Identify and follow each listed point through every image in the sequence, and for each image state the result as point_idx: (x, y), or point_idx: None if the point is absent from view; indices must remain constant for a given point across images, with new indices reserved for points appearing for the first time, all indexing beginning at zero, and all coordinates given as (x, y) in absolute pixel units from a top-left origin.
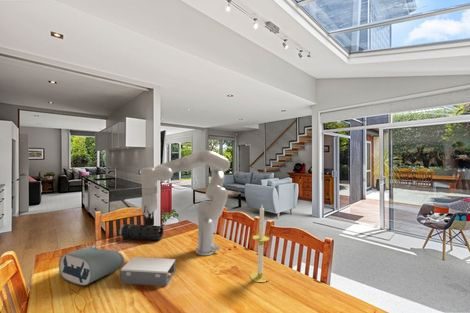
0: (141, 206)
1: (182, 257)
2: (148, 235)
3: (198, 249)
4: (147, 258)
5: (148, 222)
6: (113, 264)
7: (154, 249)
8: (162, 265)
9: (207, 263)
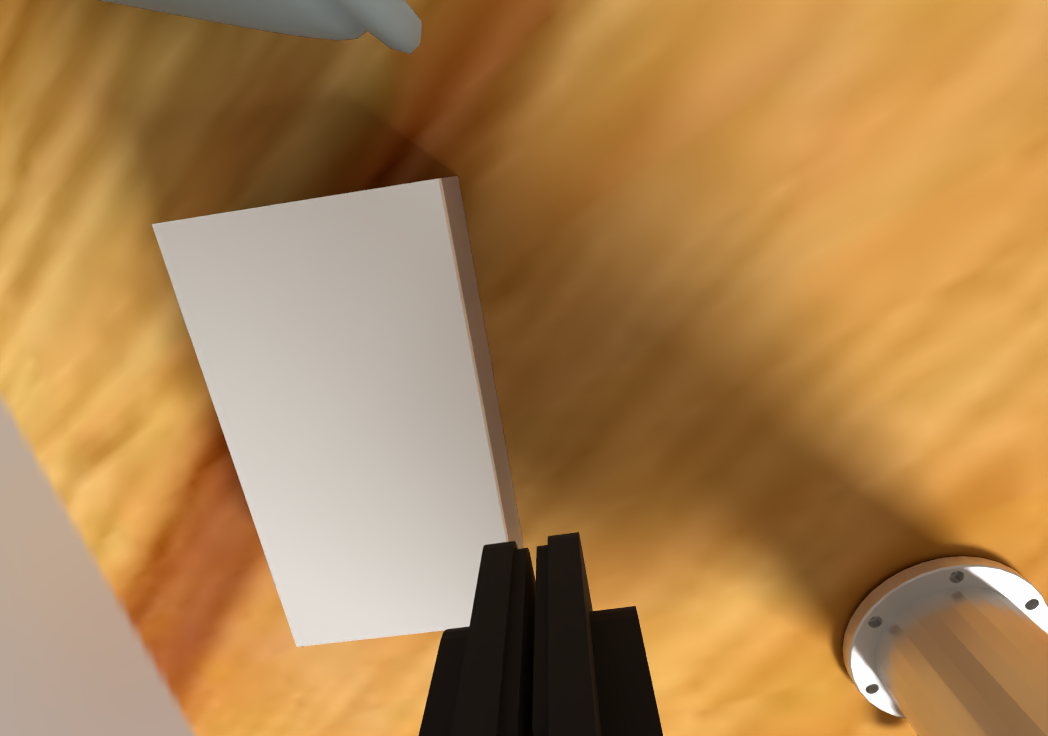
0: None
1: (788, 495)
2: None
3: (920, 613)
4: (454, 362)
5: (441, 687)
6: (229, 21)
7: (961, 106)
8: (374, 573)
9: (712, 704)
